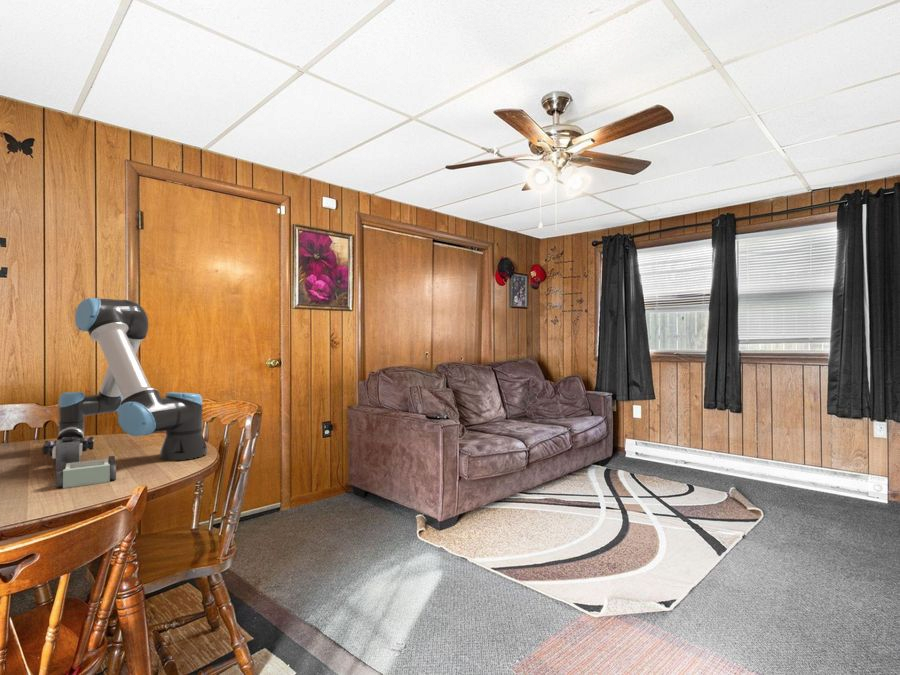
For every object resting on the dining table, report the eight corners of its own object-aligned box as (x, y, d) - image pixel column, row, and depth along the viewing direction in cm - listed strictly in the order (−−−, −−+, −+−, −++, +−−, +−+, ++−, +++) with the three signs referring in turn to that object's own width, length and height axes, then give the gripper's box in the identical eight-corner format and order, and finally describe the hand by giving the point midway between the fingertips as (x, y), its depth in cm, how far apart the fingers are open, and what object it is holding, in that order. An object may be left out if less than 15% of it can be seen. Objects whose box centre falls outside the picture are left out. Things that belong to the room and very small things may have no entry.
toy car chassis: (59, 474, 152) (59, 458, 152) (114, 467, 161) (114, 452, 161) (55, 489, 139) (55, 471, 138) (116, 481, 147) (116, 464, 147)
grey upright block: (56, 467, 160) (57, 436, 160) (79, 464, 164) (79, 434, 164) (55, 471, 155) (55, 440, 155) (79, 468, 159) (79, 438, 159)
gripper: (103, 446, 180) (103, 460, 161) (35, 453, 169) (28, 469, 150) (103, 426, 180) (103, 437, 161) (35, 431, 168) (28, 444, 150)
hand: (67, 452), depth 155 cm, fingers closed on grey upright block, 6 cm apart
